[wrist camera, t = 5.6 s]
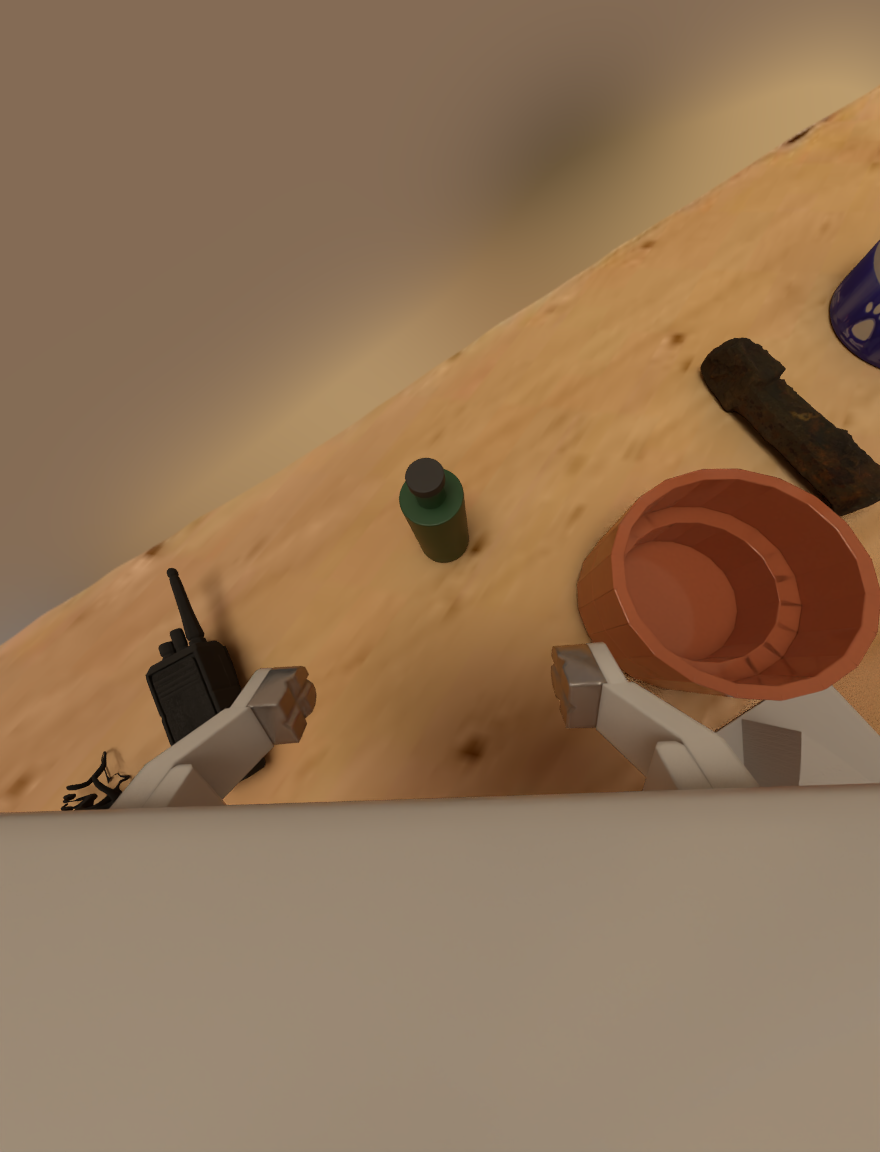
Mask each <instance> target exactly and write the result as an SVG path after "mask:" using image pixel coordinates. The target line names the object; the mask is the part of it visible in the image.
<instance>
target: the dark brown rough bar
mask: <svg viewBox="0 0 880 1152" xmlns="http://www.w3.org/2000/svg"><path fill="white" fill-rule="evenodd" d="M785 370H786V368H785V367H784V366H782V364H781V363H780V362H779V361H777V360H776V359H774V358H773V357H772V356H771V355H770V354H769V353H768V351H767V350H763V348H762V346H761V345H759V344H755V343H754V342H752V341H751V340H750V339H748V338H734V339H731V340H728V341H726V342H724V343H723V344H722V345H720V346H719V347H717V348H715V349H713V350H712V351H711V352H710V353H709V354H708V355H707V357H706V358H705V360H704V361H703V363H702V365H701V373H702V375H703V377H704V379H705V381H706V382H707V384H708V387H709V389H711V390H712V392H713V393H714V395H715V396H716V397H717V398H718V400H719V401H720V403H721V404H722V406H723V408H724V409H725V410H726V411H730V412H732V411H737V412H738V413H740V414H741V415H743V416H744V417H745V418H746V419H747V420H748V421H749V422H750V423H751V424H752V426H753V427H754V428H755V429H756V430H757V431H758V432H759V433H760V434H761V435H762V437H763V438H764V440H766V441H767V442H769V443H770V444H772V445H773V446H774V447H775V448H776V449H777V450H778V451H779V452H780V453H781V454H782V455H783V456H784V457H785V458H786V459H787V460H788V461H789V462H790V464H791V465H792V466H793V467H794V468H795V469H797V470H798V471H799V473H800V474H801V475H802V476H803V477H805V478H806V479H807V480H808V481H809V482H810V483H811V484H812V485H813V486H814V487H815V488H816V489H817V490H818V491H819V492H820V493H821V494H823V495H824V496H825V497H826V498H827V499H828V500H829V502H830V503H831V504H832V505H833V511H834V512H835V513H836V514H837V515H838V516H839V517H840V516H842V515H846V514H849V513H852V512H854V511H857V510H859V509H862V508H865V507H868V506H870V505H872V504H874V503H876V502H878V501H880V465H878V464H877V463H875V462H874V461H873V459H872V458H871V457H870V456H869V455H867V454H866V452H865V451H864V450H862V449H860V448H859V447H858V445H857V444H856V443H855V442H854V441H853V439H852V436H851V435H850V434H848V431H847V430H843V429H839V428H836V427H835V426H834V425H833V424H832V423H831V422H829V421H828V420H827V419H826V418H825V417H823V416H822V415H821V414H820V413H819V412H817V411H816V410H815V409H814V408H813V407H811V405H810V404H808V403H807V402H806V401H805V400H804V399H803V398H802V397H800V396H799V395H798V394H797V392H795V391H794V390H793V388H791V387H790V386H789V385H787V384H786V382H785V379H780V376H781V374H783V372H784V371H785Z"/></svg>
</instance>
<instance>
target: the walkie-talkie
mask: <svg viewBox="0 0 880 1152" xmlns="http://www.w3.org/2000/svg"><path fill="white" fill-rule="evenodd" d="M167 575H168V577H169V578H170V579H169V580H170V584H171V587H172V590H173V593H174V596H175V599H176V602H177V606H178V609H179V612H180V615H181V618H182V622H183V626H184V630H185V634H186V637H185V635H184V632H183V630H182V629H181V628H178V629H175V630H172V631H171V632H170V636H171V639H172V641H170V642H166V643H163V644H161V645H160V646H159V651H160V654H161V656H162V657H163V659H162V661H160V662H158V663H156V664H155V665H153V666H151V667H150V669H149V670H148V672H147V674H146V680H147V683H148V686H149V688H150V691H151V694H152V696H153V699H154V702H155V704H156V707H157V710H158V712H159V715H160V716H161V717H162V723H163V726H164V729H165V731H166V734H167V737H168V740H169V742H170V745H171V746H172V745H174V744H175V743H177V742H178V741H180V740H181V739H182V738H184V737H185V736H187V735H188V734H190V733H191V732H192V731H194V730H195V729H197V728H198V727H200V726H201V725H202V724H204V723H205V722H207V721H208V720H210V719H211V718H212V717H214V716H215V715H217V714H218V713H220V712H221V711H222V710H224V709H226V708H230V707H231V706H232V704H233V703H234V701H235V700H236V699H237V697H238V696H239V694H240V693H241V688H240V685H239V681H238V678H237V675H236V672H235V669H234V666H233V664H232V661H231V659H230V656H229V653H228V651H227V649H226V647H225V646H222V645H221V644H220V643H219V642H217V641H210V642H207V641H206V638H204V632H203V630H202V628H201V626H200V624H199V622H198V620H197V618H196V616H195V614H194V612H193V609H192V607H191V605H190V602H189V600H188V597H187V595H186V592H185V590H184V587H183V585H182V582H181V580H180V578H179V577H178V575H179V574H178V572H177V570H176V569H174V568H169V569H168V570H167ZM186 638H187V639H188V641H190V642H189V645H190V646H188V642H187V640H186ZM265 763H266V762H265V759H264V757H263V758H262V759H261V760H260V761H259V762H258V763H257V764H256V765H255V766H254V767H253V768H252V769H251V770H250V771H249V772H248V773H247V774H246V776H245V777H244V778H243V779H242V780H244V779H246V778H248V777H249V776H251V775H253V774H254V773H256V772H257V771H259V770H260V769H262V768H263V767H264V766H265ZM242 780H241V781H242ZM241 781H240V782H241Z"/></svg>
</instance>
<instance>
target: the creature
mask: <svg viewBox="0 0 880 1152" xmlns="http://www.w3.org/2000/svg"><path fill="white" fill-rule="evenodd" d="M103 754H104V757H103V755H102V758H103V762H102V759H101V762H102V764H101V765H100V767H99V768H98V769H97V771H96V772H95V773H94V774H93V775H92V777H91V778H90V779H89V780H88V781H87V782H84V783H82V784H76V785H70V786H67V787H66V788H67V790H77V789H81V788H84V787H86V786H89V785H90V784H91V783H92V782H93V783H94V785H95V786H96V787H97V788H98V789H99V790H101V791H102V792H104V793H106V794H107V796H106V797H105V798H104V799H103V800H102V801H100V802H99V803H97V804H95V805H93V804H94V800H95V799H96V798H97V794H90V795H87V796H84V797H81V798H78V799H76V800H74V801H81V800H83V801H82V802H81V803H79V804H78V805H76V806H74V807H72V806H69V807H65V806H67V805H68V802H73V801H70V800H72V799H74V798H75V797H76V794H68V795H66V796H64V797H63V798H64V801H63V803H67V804H65V805H64V806H63V807H62V808H61V810H62V811H70V810H73V809H75V810H100V809H109V808H110V807H111V806H112V805H113V803H114V802H115V801H116V800H117V799H118V797H119V796H120V795H121V794H122V791H121V790H120V789H119V786H120V784H121V783H122V782H123V781H126V780H128V779H129V778H130V776H129V775H128V776H124V775H120V774H119V773H117V774H118V775H119V776H120V777H123V778H124V779H122V780H120V781H119V783H118V785H117V786H116V787H115V788H114V789H111V788H109V787H107V786H105V785H104V784H102V783H101V782H99V780H98V779H97V778H98V777H99V776H100V775H101V773H102V772H103V771H105V774H106V777H107V781H108V783H109V781H110V779H111V778H112V777H113V776H114V775H113V776H112V777H111V778H109V777H108V776H107V773H106V770H105V767H106V752H105V751H104V752H103ZM115 775H116V774H115Z"/></svg>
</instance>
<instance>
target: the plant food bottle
mask: <svg viewBox="0 0 880 1152" xmlns="http://www.w3.org/2000/svg"><path fill="white" fill-rule="evenodd" d="M405 480H406V481H405V483H404V484H403V486H402V488H401V491H400V496H399V502H400V507H401V510H402V512H403V514H404V516H405V518H406V519H407V521H408V523H409V525H410V527H411V529H412V531H413V533H414V535H415V536H416V538H417V540H418V542H419V544H420V546H421V548H422V550H423V552H424V553H425V554H426V556H427V557H429V558H430V559H432V560H434V561H436V562H441V563H446V562H451V561H454V560H456V559H458V558H459V557H460V556H461V555H462V554H463V553H464V552H465V550H466V549H467V546H468V542H469V535H468V527H467V518H466V510H465V501H464V492H463V487H462V485H461V483H460V481H459V479H458V478H457V477H456V476H455V475H454V474H453V473H451V472H450V471H448V470H445V469H443V467H442V465H441V464H440V463H439V462H438V461H436V460H434V459H431V458H421V459H418V460H416V461H414V462H413V463H412V464H411V465H410V466H409V467H408V469H407V471H406V474H405Z"/></svg>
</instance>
